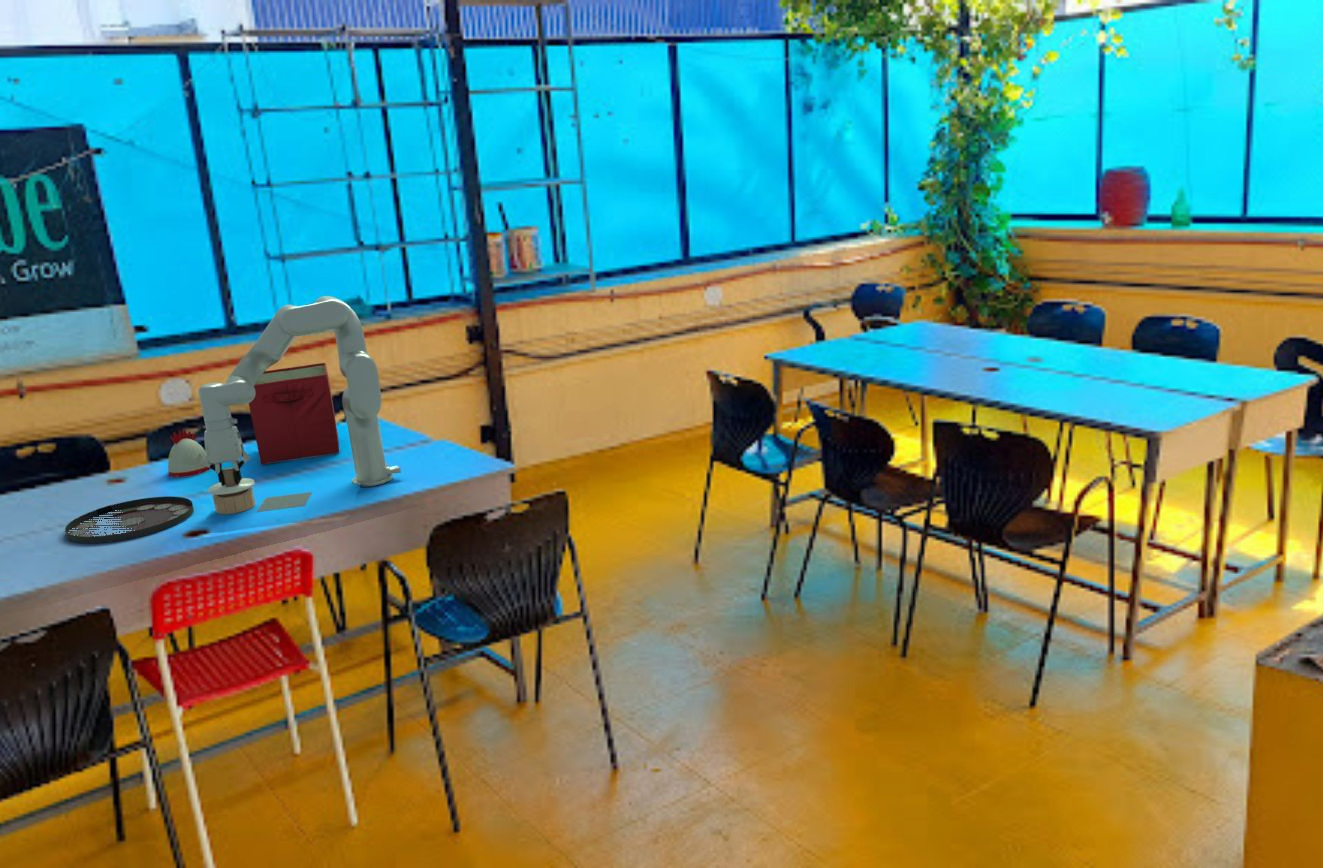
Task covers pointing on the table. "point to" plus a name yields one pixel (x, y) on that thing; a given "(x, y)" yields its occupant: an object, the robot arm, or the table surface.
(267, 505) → the mat
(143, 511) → the palette wheel
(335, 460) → the table surface
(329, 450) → the storage cube
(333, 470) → the table surface
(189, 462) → the beanie hat
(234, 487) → the lid
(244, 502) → the bowl
